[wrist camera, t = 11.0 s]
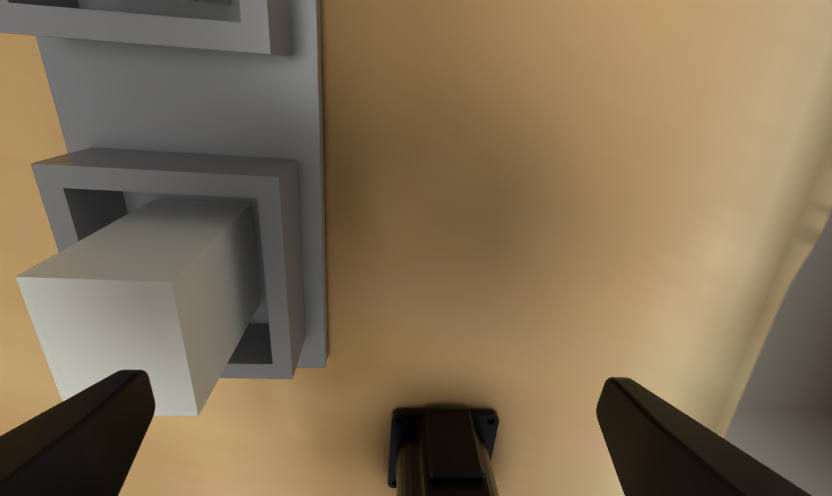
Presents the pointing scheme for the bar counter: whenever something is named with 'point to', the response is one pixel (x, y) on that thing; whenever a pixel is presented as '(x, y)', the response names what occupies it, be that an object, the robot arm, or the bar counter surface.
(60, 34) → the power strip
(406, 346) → the bar counter surface
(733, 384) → the bar counter surface
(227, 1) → the plug
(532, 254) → the bar counter surface
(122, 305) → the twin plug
